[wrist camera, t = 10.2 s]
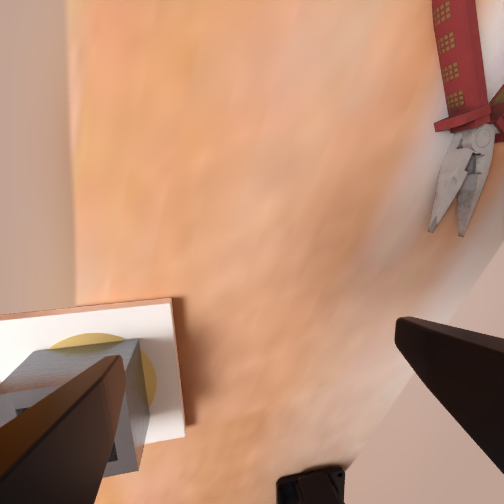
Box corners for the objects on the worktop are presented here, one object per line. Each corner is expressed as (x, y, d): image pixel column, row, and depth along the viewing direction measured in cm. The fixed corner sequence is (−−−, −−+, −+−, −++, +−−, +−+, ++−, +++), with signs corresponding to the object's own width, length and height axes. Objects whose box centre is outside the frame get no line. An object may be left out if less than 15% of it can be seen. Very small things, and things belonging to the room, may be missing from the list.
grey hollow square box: (150, 417, 20) (138, 470, 17) (53, 433, 19) (17, 494, 15) (138, 338, 19) (122, 376, 15) (33, 351, 18) (-13, 395, 14)
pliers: (372, 224, 22) (394, 229, 19) (440, -85, 18) (479, -130, 15) (488, 239, 24) (521, 245, 22) (570, -32, 20) (623, -63, 18)
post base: (185, 425, 22) (181, 499, 17) (32, 452, 21) (-25, 544, 15) (171, 297, 20) (160, 337, 15) (-5, 315, 18) (-90, 368, 13)
